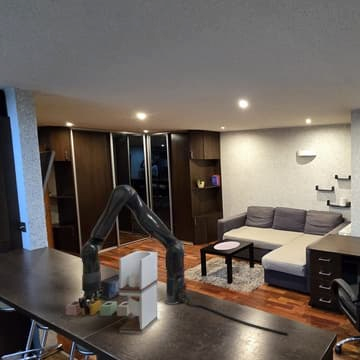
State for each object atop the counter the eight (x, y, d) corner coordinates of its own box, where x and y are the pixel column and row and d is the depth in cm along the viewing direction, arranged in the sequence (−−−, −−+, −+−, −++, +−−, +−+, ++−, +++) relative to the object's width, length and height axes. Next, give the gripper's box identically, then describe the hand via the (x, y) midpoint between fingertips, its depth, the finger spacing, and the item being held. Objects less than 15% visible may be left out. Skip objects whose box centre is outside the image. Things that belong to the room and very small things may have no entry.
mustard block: (100, 309, 144) (100, 300, 144) (92, 315, 139) (92, 305, 139) (90, 309, 144) (90, 300, 144) (82, 314, 139) (82, 305, 139)
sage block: (117, 310, 144) (117, 301, 144) (110, 315, 139) (110, 306, 139) (107, 310, 144) (107, 301, 144) (100, 315, 139) (100, 306, 139)
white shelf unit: (136, 318, 137) (136, 251, 136) (157, 319, 137) (157, 251, 135) (119, 332, 126) (119, 258, 124) (141, 333, 126) (141, 259, 124)
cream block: (133, 310, 145) (133, 301, 144) (127, 316, 140) (126, 306, 139) (123, 310, 144) (123, 301, 144) (117, 315, 139) (117, 306, 139)
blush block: (84, 310, 144) (84, 300, 143) (76, 315, 139) (76, 305, 138) (74, 310, 144) (74, 300, 143) (66, 315, 139) (66, 305, 138)
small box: (108, 300, 154) (108, 282, 154) (99, 298, 156) (99, 281, 155) (125, 292, 165) (125, 275, 164) (116, 290, 166) (116, 274, 166)
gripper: (87, 285, 133) (88, 319, 134) (109, 274, 148) (109, 304, 149) (72, 285, 133) (72, 319, 134) (95, 274, 148) (95, 304, 148)
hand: (91, 311), depth 141 cm, fingers closed on mustard block, 5 cm apart
